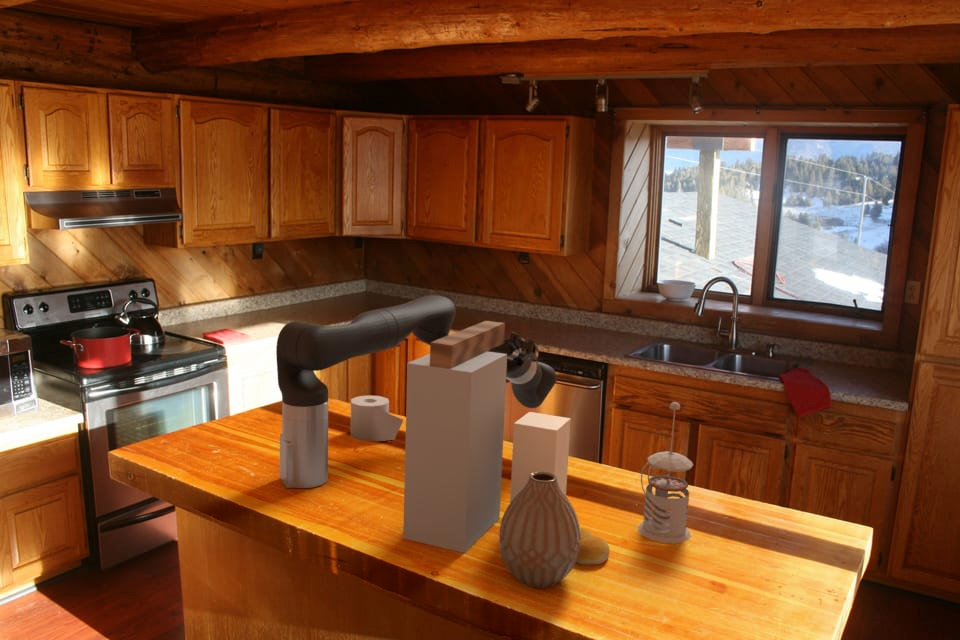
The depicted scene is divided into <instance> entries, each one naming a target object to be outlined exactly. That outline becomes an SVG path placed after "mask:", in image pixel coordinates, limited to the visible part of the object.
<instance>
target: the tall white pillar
mask: <svg viewBox="0 0 960 640" xmlns="http://www.w3.org/2000/svg"><path fill="white" fill-rule="evenodd" d="M406 369H407V370H406V372H407V373H406V402H405V404H406V407H405V408H406V410H405V413H406V414H405V418H406V419H405V443H404V444H405V445H404V447H405V448H404V451H405V455H404V461H405V462H404V483H403V484H404V485H403V486H404V487H403V488H404V489H403V490H404V491H403V493H404V494H403V530H402V531H403V533H402V539H404V540H408V541H413V542H418V543H421V544H425V545H429V546H432V547H433V546H434V547H438V548H441V549H445V550H450V551H455V552H458V553H463V554H465V553H467V552H468V551H469V550H470V548H471V547H473V545H474V544H475V543H476V542H477V541H478V540H480V538H482V537H483V535H485V533H486V532H487V531H488V530H489V529H490V528H492V527H493V526H494V524H496V523H497V522H498V521H499V520H500V519H501V518H500V515H501V514H500V512H501V495H502V494H501V493H502V477H503V476H502V475H503V474H502V472H503V471H502V470H503V455H504V453H503V451H504V430H505V410H506V409H505V407H506V387H507V383H506V369H507V354H503V353H495V352H488V351H487V352H485V353H483V354H481V355H478V356H476V357H474V358H472V359H470V360H468V361H466V362H464V363H462V364H460V365H458V366H456V367H454V368H451V369H450V368H443V367H436V366H430V353H429V354H426V355H423V356H421V357H418V358H416V359H413V360H411V361H410V362H407V366H406Z"/></svg>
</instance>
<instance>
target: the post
mask: <svg viewBox="0 0 960 640" xmlns="http://www.w3.org/2000/svg"><path fill="white" fill-rule="evenodd" d="M571 420H572V419H571V418H570V417H565V416H558V415H557V416H556V415H552V414H551V415H550V414H547V413H546V414H545V413H538V412H533V411H529V412H527V413H526V414H525V415H523V416H522V417H520V418H519V419H518V420H516V421H515V422H514V423H513V437H512V453H511V454H512V458H511V477H510V494H509V495H510V497H509V504H510V503H511V501H512V500H513V499H514V497H515V496H516V495H517V494H518V493H519V492H520V491H521V490H522V489H523V488H524V487H525V485H526V484H527V482H528V480H529V475H530V474H531V473H533V472H539V471H542V472H549V473H552V474H554V475H556V476H557V482H558V485H559V487H560V489H561V490H562V492H563V493H564V494H565V496H566V497H567V482H568V466H569V450H570V435H571Z"/></svg>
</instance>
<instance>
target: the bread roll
mask: <svg viewBox="0 0 960 640" xmlns="http://www.w3.org/2000/svg"><path fill="white" fill-rule="evenodd" d="M580 532H581V543H580V551H579V555H578V558H577V561H576V563H575V564H578V565H584V566H585V565H586V566H587V565H588V566H589V565H600V564H602V563H604V562H605V561H607V559H608V558H609V555H610V551H611V550H610V545H609V544H608V542H607V540H605V539H604V537H601V536H596V535H594V534H593V533H591V532H590V531H589V530H587V529H585V528H580Z"/></svg>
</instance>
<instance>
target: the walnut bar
mask: <svg viewBox="0 0 960 640" xmlns="http://www.w3.org/2000/svg"><path fill="white" fill-rule="evenodd" d="M505 328H506V322H501V321H499V322H498V321H492V320H484V321H482V322H479V323H476V324H474V325H472V326H468V327H467V328H464V329H462V330H459V331H456V332H454V333H451V334H448V336H446V337H443V338H440V339H438V340H435V341H433V342H430V345H429V346H430V349H429V354H430V366H436V367H443V368H450V369H451V368H454V367H456V366H458V365H460V364H462V363H464V362H466V361H468V360H470V359H472V358H474V357H476V356H478V355H481V354H483V353H485V352H487V351H489V350H491V349H493V348H495V347H497V346H499V345H501V344H503V343H504V339H505V332H506V331H505V330H506V329H505Z"/></svg>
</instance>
